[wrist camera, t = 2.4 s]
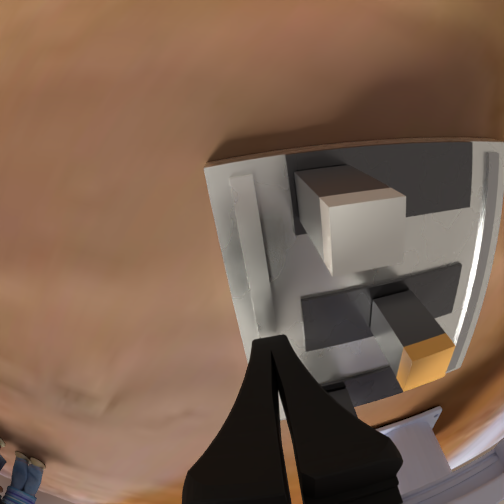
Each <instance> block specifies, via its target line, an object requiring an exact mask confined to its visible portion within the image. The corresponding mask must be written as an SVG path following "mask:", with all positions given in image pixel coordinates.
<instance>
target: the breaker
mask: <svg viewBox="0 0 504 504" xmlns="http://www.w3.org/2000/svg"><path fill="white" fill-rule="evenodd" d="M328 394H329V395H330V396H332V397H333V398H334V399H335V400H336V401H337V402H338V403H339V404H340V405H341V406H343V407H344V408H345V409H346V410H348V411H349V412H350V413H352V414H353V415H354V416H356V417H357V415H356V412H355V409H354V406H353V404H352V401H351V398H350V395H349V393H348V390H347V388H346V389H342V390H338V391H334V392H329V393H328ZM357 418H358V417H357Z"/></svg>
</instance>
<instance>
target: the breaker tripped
mask: <svg viewBox="0 0 504 504" xmlns="http://www.w3.org/2000/svg"><path fill="white" fill-rule="evenodd" d="M370 330H371V332H372V334H373V336H374V337H375V339H376V341H377V343H378V345H379V346H380V348H381V350H382V352H383V354H384V356H385V357H386V359H387V361H388V363H389V365H390V367H391V369H392V371H393V372H394V374H395V376H396V378H397V380H398V382H399V384H400V386H401V388H402V390H403V392H404V391H407V390H410V389H413V388H416V387H418V386H421V385H424V384H426V383H429V382H432V381H434V380H437V379H439V378H442V377H444V376H445V373H446V371H447V368H448V366H449V363H450V360H451V358H452V355H453V352H454V349H455V344H454V343H453V342H452V340H451V339H450V338H449V336H448V335H447V334H446V333H445V331H444V330H443V329H442V327H441V326H440V325H439V324H438V322H437V321H436V320H435V319H434V317H433V316H432V315H431V314H430V312H429V311H428V310H427V309H426V308H425V306H424V305H423V304H422V303H421V302H420V300H419V299H418V298H417V297H416V296H415V294H414V293H413V292H412V291H411V290H409V291H405V292H401V293H397V294H393V295H389V296H385V297H381V298H377V299H373V305H372V317H371V328H370Z"/></svg>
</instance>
